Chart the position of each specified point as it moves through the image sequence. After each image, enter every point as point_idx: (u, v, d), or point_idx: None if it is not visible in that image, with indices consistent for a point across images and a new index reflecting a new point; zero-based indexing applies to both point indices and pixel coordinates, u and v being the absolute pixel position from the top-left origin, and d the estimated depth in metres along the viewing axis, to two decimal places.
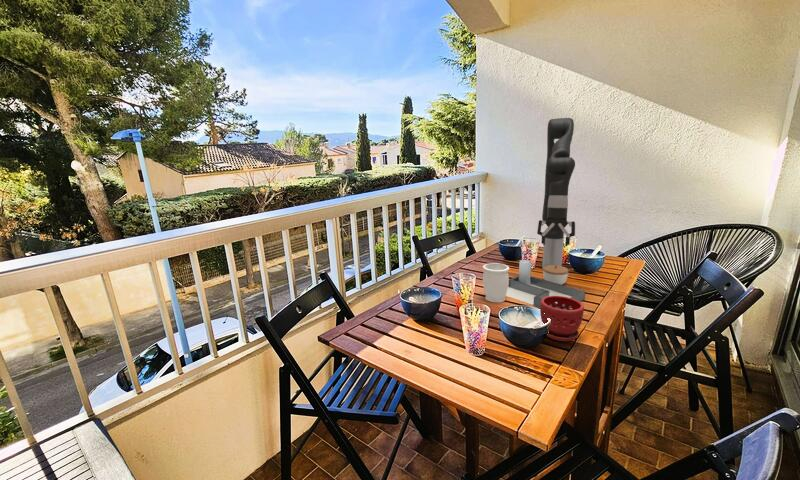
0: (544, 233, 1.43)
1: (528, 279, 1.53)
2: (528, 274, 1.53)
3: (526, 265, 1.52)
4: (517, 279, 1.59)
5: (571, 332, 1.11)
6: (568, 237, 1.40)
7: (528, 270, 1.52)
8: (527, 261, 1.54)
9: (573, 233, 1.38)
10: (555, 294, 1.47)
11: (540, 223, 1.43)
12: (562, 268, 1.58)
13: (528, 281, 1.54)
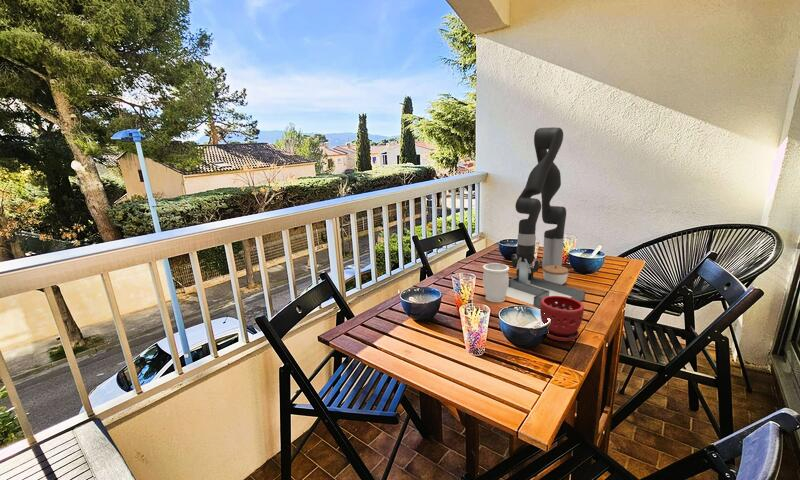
0: (517, 267, 1.56)
1: None
2: None
3: (526, 265, 1.52)
4: (517, 279, 1.59)
5: (571, 332, 1.11)
6: (530, 273, 1.52)
7: None
8: None
9: (533, 270, 1.50)
10: (555, 294, 1.47)
11: (512, 257, 1.57)
12: (562, 268, 1.58)
13: (528, 281, 1.54)
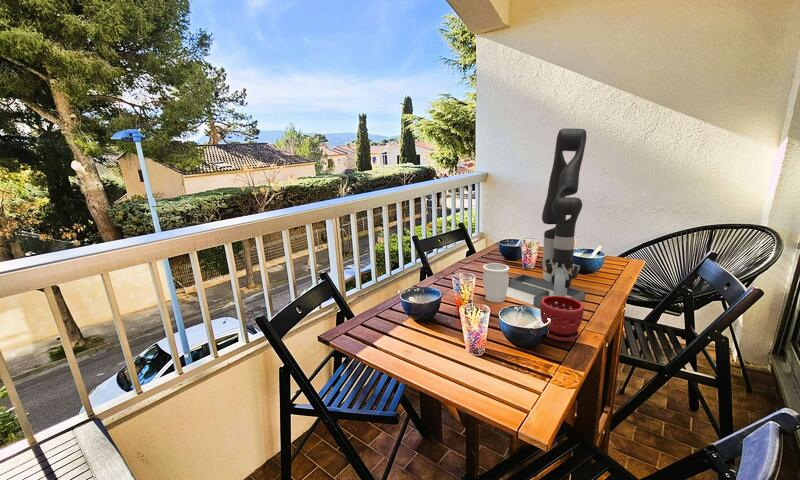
0: (553, 273, 1.43)
1: None
2: (565, 281, 1.39)
3: None
4: (517, 279, 1.59)
5: (571, 332, 1.11)
6: None
7: (565, 276, 1.39)
8: None
9: (572, 276, 1.36)
10: None
11: (547, 262, 1.44)
12: None
13: (565, 288, 1.40)
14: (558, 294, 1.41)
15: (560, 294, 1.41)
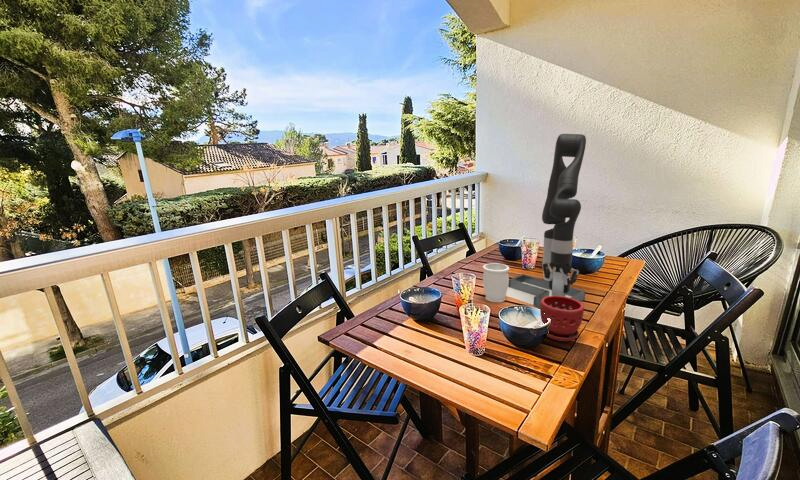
0: (551, 278, 1.37)
1: None
2: None
3: None
4: (517, 279, 1.59)
5: (571, 332, 1.11)
6: (566, 284, 1.33)
7: None
8: None
9: (570, 282, 1.31)
10: None
11: (544, 267, 1.38)
12: None
13: (563, 294, 1.35)
14: None
15: None
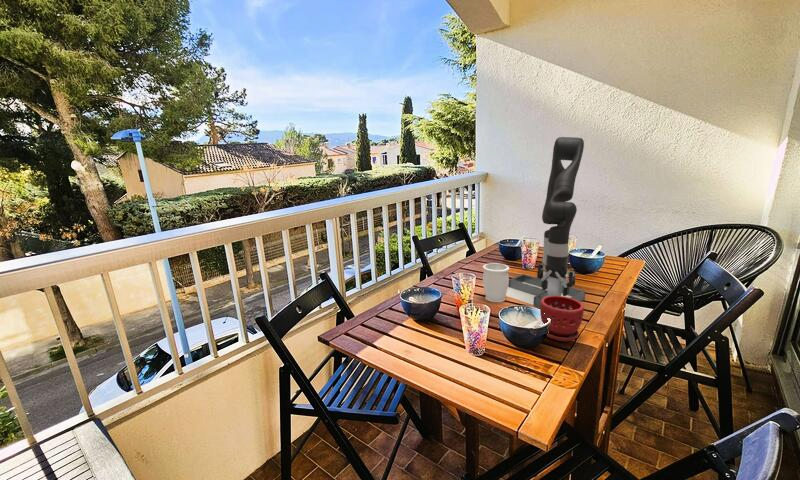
0: (543, 278, 1.37)
1: None
2: (559, 292, 1.33)
3: (557, 281, 1.32)
4: (517, 279, 1.59)
5: (571, 332, 1.11)
6: (566, 287, 1.30)
7: (559, 287, 1.32)
8: None
9: (570, 284, 1.28)
10: None
11: (539, 267, 1.37)
12: None
13: None
14: None
15: None
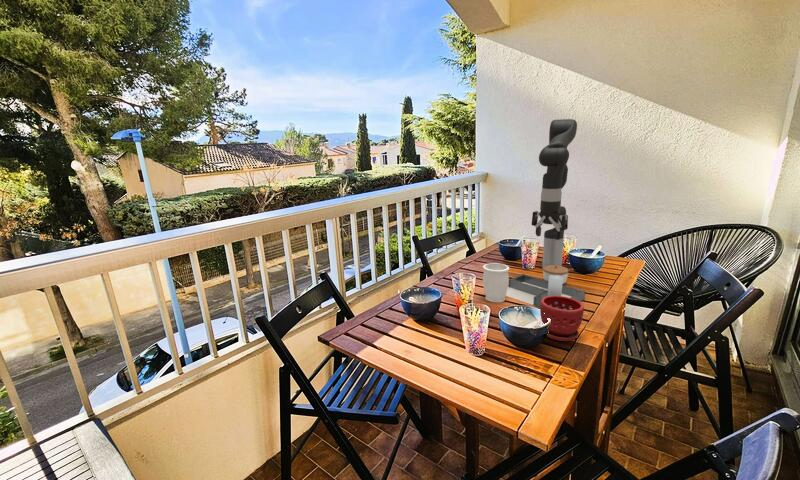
0: (537, 225, 1.43)
1: None
2: (559, 292, 1.33)
3: (557, 282, 1.32)
4: (517, 279, 1.59)
5: (571, 332, 1.11)
6: (559, 231, 1.36)
7: (559, 287, 1.32)
8: (558, 277, 1.34)
9: (563, 228, 1.34)
10: None
11: (534, 214, 1.43)
12: (562, 268, 1.58)
13: None
14: None
15: None
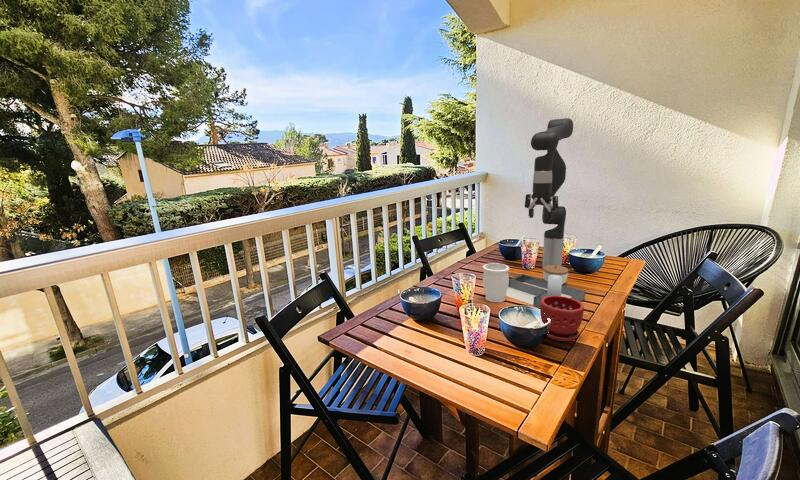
0: (530, 207, 1.51)
1: None
2: (559, 291, 1.33)
3: (557, 281, 1.32)
4: (517, 279, 1.59)
5: (571, 332, 1.11)
6: (550, 211, 1.45)
7: (559, 287, 1.33)
8: (557, 276, 1.34)
9: (553, 208, 1.42)
10: None
11: (527, 197, 1.51)
12: (562, 268, 1.58)
13: None
14: None
15: None
